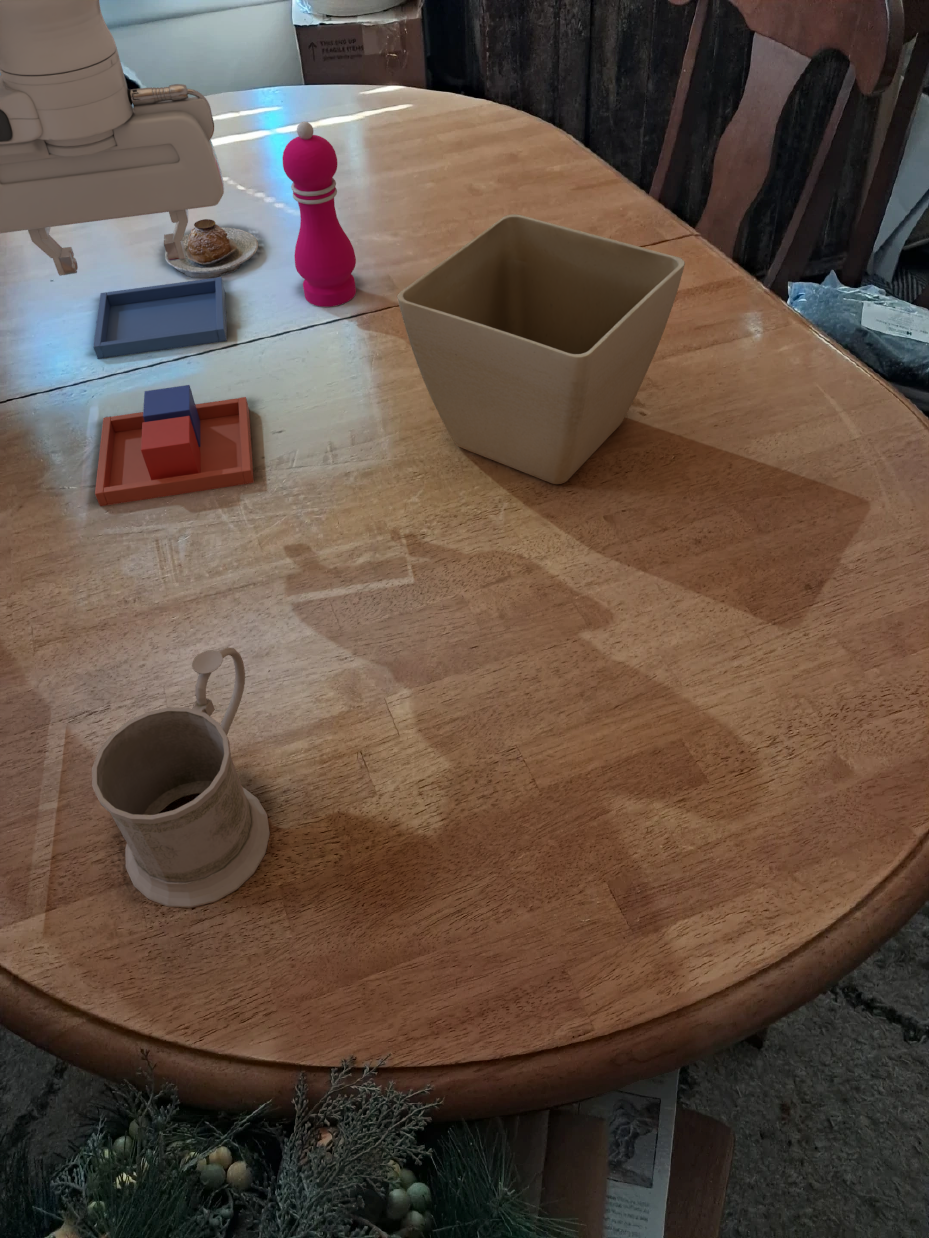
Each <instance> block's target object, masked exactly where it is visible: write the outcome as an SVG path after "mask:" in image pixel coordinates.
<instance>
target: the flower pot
mask: <svg viewBox="0 0 929 1238" xmlns="http://www.w3.org/2000/svg"><path fill="white" fill-rule="evenodd" d="M685 265H686V261H685V260H684V259H683V258H682V257H679V256H677V255H676V256H675V255H672V254H668V253H664V252H661V251H660V252H659V251H656V250H653V249H650V248H647V247H641V246H639V245H635V244H633V243H627V242H624V241H620V240H616V239H613V238H609V237H605V236H601V235H598V234H595V233H590V232H586V231H581V230H580V229H575V228H572V227H568V226H564V225H561V224H556V223H552V222H548V221H544V220H540V219H537V218H533V217H530V216H525V215H522V214H516V213H515V214H514V213H513V214H512V213H511V214H506V215H504V216H503V217H500V219H498V220H497V221H496V222H495V223H493V224H492V225H490V226H489V227H488V228H487V229H485V230H483V231H482V232H481V233H480V234H478V235H477V236H476V237H474V238H473V239H471V240H470V241H468V242H467V243H466V244H465V245H462V247H460V248H459V249H457V250H456V251H455V252H453V253H452V254H451V255H449V256H448V257H446V258H445V259H444V260H442V261H441V262H439V263H438V264H436V266H434V267H433V268H431V269H430V270H428V271H427V272H426V273H424V274H422V275H421V276H420V277H419V278H417V279H416V280H414V282H412V283H410V284H409V285H408V286H406V287H404V288H403V289H402V290H400V292H399V293H398V294H397V295H396V297H397V302H398V306H399V310H400V313H401V318H402V322H403V325H404V328H405V331H406V334H407V338H408V341H409V344H410V347H411V350H412V353H413V356H414V360H415V362H416V365H417V367H418V370H419V372H420V375H421V377H422V380H423V382H424V385H425V387H426V389H427V392H428V394H429V396H430V399H431V401H432V403H433V405H434V407H435V410H436V411H437V413H438V415H439V417H440V419H441V421H442V423H443V425H444V427H445V429H446V431H447V433H448V434H449V436H450V438H451V439H452V441H453V442H454V444H455V445H456V446H457V447H459V448H461V449H464V450H466V451H469V452H471V453H474V454H477V455H478V456H481V457H484V458H486V459H488V460H492V461H494V462H496V463H499V464H501V465H504V466H506V467H509V468H512V469H514V470H516V471H519V472H522V473H524V474H526V475H530V476H532V477H535V478H537V479H539V480H542V481H545V482H547V483H550V484H553V485H562V484H564V483H566V482H568V481H569V479H570V478H571V477H572V476H574V475H575V474H576V472H577V471H578V470H579V469H580V468H581V467H582V466H583V465H584V464H585V463H586V462H587V460H589V458H590V457H591V456H592V455H593V454H594V453H595V452H596V451H597V450H598V449H599V448H600V447H601V446H602V444H604V443H605V442H606V440H608V438H609V437H611V435H612V434H613V433H614V432H615V431H616V430H617V429H618V428H619V427H620V426H621V425H622V424H623V421H624V420H625V418H626V416H627V414H628V413H629V410H630V409H631V407H632V405H633V403H634V401H635V399H636V397H637V394H638V392H639V390H640V388H641V386H642V384H643V382H644V379H645V378H646V375H647V373H648V371H649V368H650V366H651V364H652V361H653V359H654V357H655V354H656V352H657V349H658V347H659V344H660V343H661V339H662V337H663V334H664V331H665V329H666V326H667V324H668V321H669V318H670V315H671V312H672V309H673V306H674V304H675V301H676V297H677V293H678V290H679V287H680V284H681V280H682V277H683V272H684V269H685Z"/></svg>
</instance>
